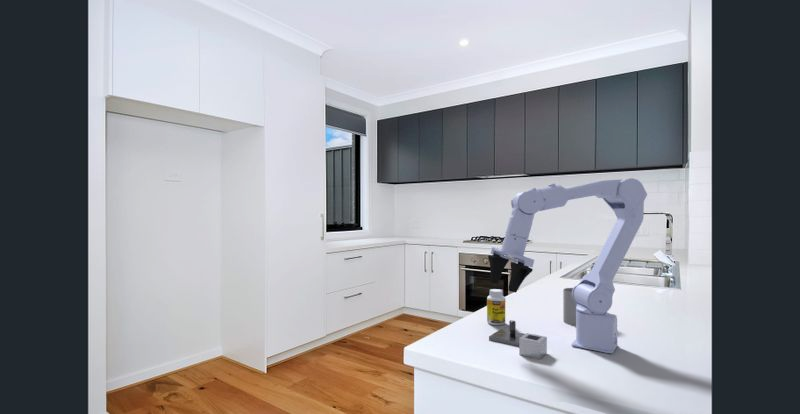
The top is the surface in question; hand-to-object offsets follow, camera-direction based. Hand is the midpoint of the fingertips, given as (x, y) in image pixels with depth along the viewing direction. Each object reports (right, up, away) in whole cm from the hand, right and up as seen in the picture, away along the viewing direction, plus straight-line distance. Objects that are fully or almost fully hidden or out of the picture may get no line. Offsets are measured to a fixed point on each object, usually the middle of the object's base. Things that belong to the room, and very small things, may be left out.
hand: (502, 287), depth 102 cm
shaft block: (+4, -15, +5) cm, 16 cm away
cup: (+29, -15, +21) cm, 39 cm away
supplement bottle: (+3, -16, +20) cm, 26 cm away
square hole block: (+6, -15, -6) cm, 17 cm away
